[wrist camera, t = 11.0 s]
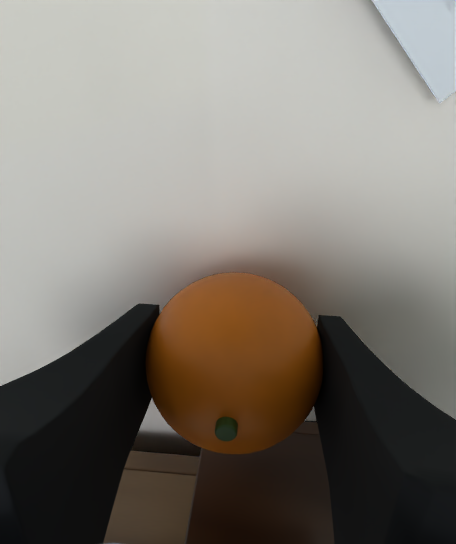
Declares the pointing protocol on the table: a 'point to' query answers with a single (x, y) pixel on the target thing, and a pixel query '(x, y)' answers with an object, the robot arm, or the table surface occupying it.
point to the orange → (234, 363)
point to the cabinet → (264, 495)
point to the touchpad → (426, 39)
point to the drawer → (153, 499)
